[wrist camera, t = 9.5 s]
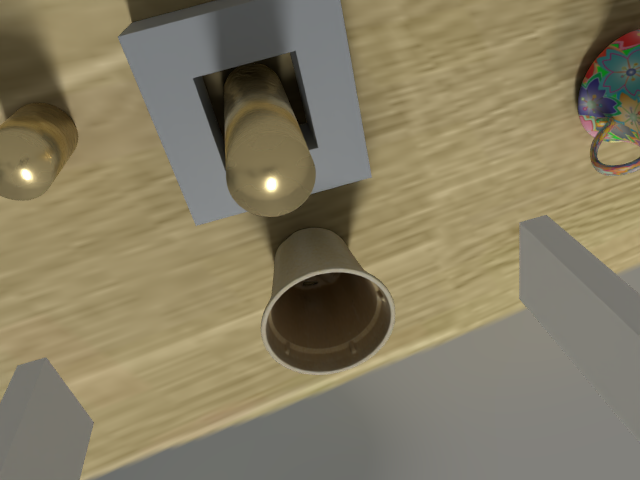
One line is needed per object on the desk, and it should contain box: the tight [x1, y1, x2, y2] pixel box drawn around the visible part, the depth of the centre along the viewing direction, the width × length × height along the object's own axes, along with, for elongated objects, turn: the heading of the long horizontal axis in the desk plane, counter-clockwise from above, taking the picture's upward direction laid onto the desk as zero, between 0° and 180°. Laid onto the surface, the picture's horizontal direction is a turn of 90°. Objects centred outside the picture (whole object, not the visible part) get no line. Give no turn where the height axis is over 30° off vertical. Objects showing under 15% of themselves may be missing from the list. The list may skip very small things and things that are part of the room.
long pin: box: [224, 63, 316, 217], centre depth 28 cm, size 4×4×14 cm
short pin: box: [0, 103, 78, 200], centre depth 31 cm, size 4×4×6 cm
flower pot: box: [261, 228, 395, 375], centre depth 38 cm, size 9×9×9 cm
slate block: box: [118, 0, 372, 226], centre depth 32 cm, size 12×12×5 cm
